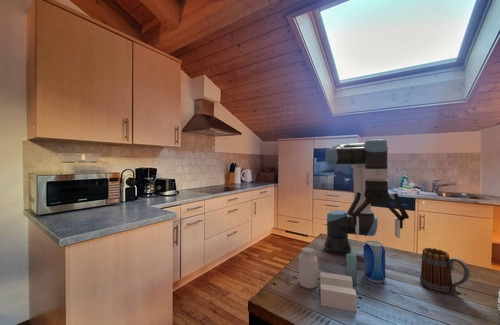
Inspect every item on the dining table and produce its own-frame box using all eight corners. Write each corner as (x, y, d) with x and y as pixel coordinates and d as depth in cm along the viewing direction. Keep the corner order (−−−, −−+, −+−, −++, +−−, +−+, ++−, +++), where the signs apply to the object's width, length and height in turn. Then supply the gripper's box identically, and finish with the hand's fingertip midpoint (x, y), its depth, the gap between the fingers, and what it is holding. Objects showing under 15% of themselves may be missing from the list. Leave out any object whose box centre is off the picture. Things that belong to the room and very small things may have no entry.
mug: (414, 283, 91) (413, 248, 91) (429, 278, 95) (428, 245, 95) (461, 305, 76) (460, 264, 76) (476, 298, 80) (475, 259, 80)
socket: (320, 285, 90) (320, 271, 90) (351, 291, 86) (351, 276, 86) (320, 305, 77) (320, 288, 77) (356, 312, 74) (356, 295, 74)
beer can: (388, 284, 90) (388, 247, 90) (367, 282, 92) (367, 246, 92) (380, 274, 98) (380, 240, 98) (361, 272, 100) (361, 239, 100)
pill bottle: (303, 290, 87) (303, 253, 87) (296, 279, 95) (296, 246, 95) (321, 288, 88) (321, 252, 88) (312, 277, 96) (312, 245, 96)
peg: (346, 279, 94) (345, 253, 94) (355, 281, 93) (355, 254, 93) (347, 284, 90) (346, 256, 90) (357, 286, 89) (357, 257, 89)
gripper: (342, 180, 80) (342, 235, 80) (419, 181, 73) (420, 241, 73) (339, 178, 88) (340, 229, 88) (410, 179, 80) (410, 234, 80)
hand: (376, 235), depth 80 cm, fingers open, 13 cm apart
